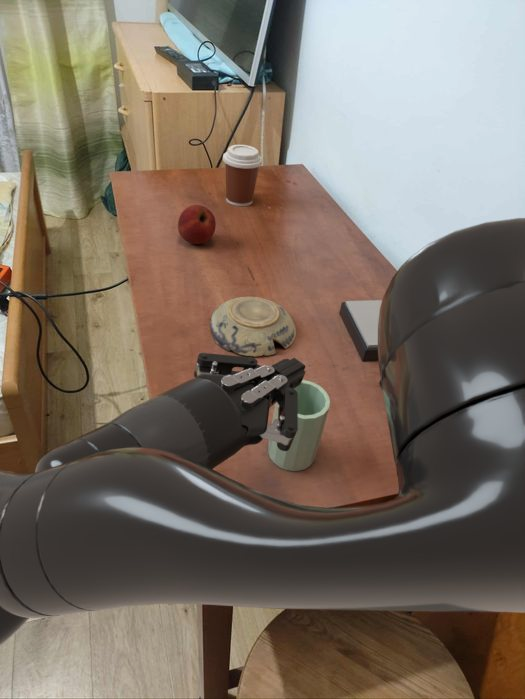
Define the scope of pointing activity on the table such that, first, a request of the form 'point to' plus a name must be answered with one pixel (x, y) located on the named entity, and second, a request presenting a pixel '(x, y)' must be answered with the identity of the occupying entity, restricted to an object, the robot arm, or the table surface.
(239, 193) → the coffee cup
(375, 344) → the scale
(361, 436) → the table surface
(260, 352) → the decorative bowl
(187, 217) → the apple
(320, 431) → the cup
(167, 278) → the table surface
